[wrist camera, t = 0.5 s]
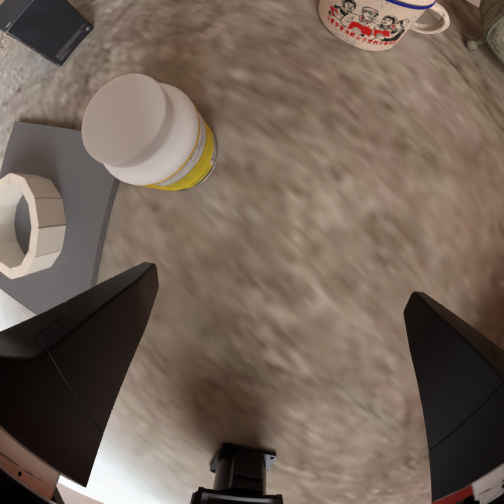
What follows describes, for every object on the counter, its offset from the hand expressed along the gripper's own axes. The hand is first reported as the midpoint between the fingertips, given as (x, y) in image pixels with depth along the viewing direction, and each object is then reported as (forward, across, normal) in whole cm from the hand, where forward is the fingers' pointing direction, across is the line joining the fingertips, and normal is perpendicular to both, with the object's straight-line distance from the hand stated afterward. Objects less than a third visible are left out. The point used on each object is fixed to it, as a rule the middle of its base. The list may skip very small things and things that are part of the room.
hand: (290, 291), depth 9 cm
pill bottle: (+15, +8, -1) cm, 17 cm away
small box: (+21, +28, -17) cm, 39 cm away
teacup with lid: (+21, -8, -17) cm, 28 cm away
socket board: (+12, +24, +5) cm, 28 cm away
